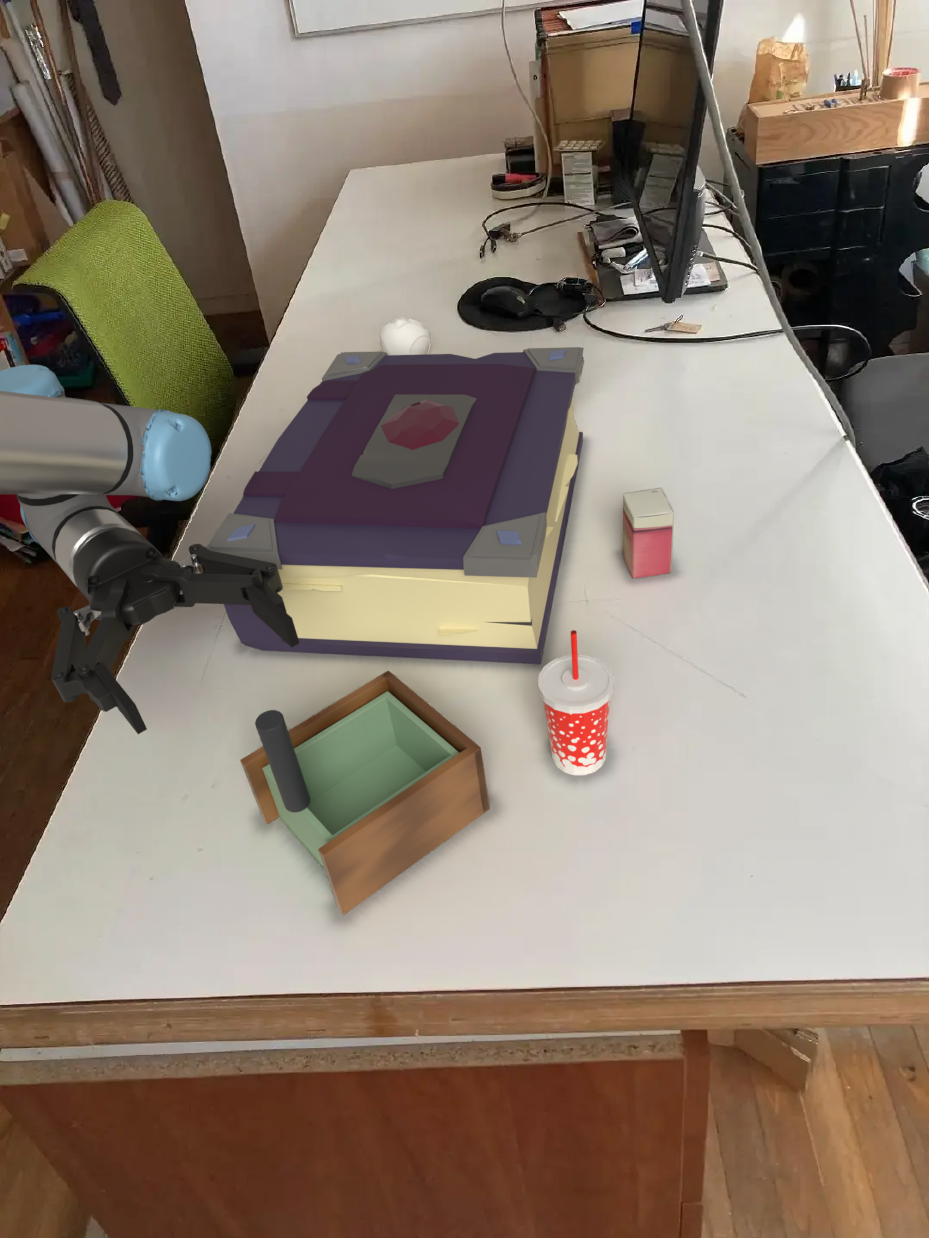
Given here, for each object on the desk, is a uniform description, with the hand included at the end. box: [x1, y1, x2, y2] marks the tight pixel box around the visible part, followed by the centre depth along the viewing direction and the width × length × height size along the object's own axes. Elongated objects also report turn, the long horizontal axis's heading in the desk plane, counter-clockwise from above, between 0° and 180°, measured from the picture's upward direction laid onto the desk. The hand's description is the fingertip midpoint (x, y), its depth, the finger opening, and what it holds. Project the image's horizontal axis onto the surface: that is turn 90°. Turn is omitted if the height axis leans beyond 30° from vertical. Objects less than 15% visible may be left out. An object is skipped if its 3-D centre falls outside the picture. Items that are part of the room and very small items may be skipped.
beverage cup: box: [537, 629, 615, 776], centre depth 76 cm, size 6×6×14 cm
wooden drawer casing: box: [240, 670, 490, 916], centre depth 75 cm, size 15×13×8 cm
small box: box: [621, 487, 675, 579], centre depth 97 cm, size 5×4×8 cm
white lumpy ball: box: [378, 315, 432, 355], centre depth 144 cm, size 8×8×8 cm
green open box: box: [254, 691, 459, 871], centre depth 72 cm, size 13×10×16 cm
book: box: [205, 346, 585, 665], centre depth 105 cm, size 33×45×14 cm
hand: (217, 674), depth 72 cm, fingers open, 13 cm apart
